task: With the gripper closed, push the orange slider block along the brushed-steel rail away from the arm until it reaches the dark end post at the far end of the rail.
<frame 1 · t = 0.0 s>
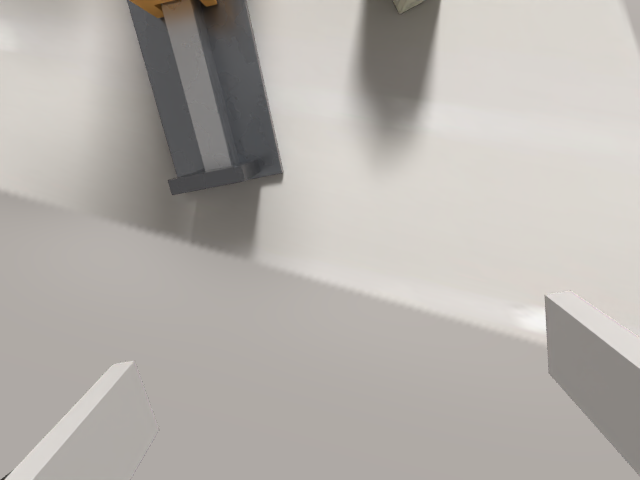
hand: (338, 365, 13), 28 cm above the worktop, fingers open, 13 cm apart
rail: (201, 51, 36), on the worktop
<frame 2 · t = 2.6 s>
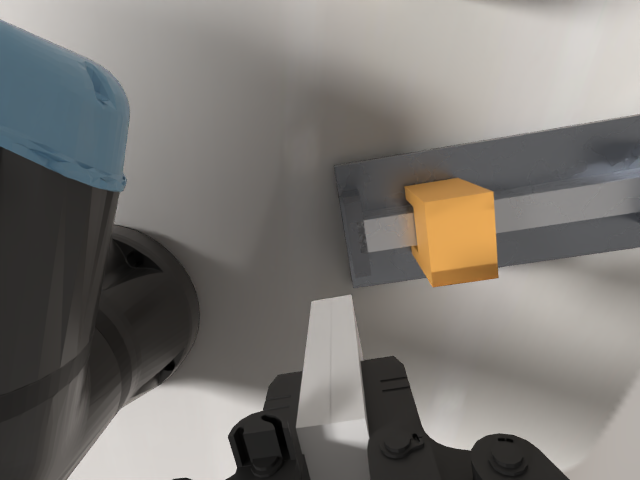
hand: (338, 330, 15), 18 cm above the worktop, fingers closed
rail: (494, 203, 32), on the worktop
orange slider block: (446, 227, 27), point 5 cm above the worktop, slide at 0.0 cm
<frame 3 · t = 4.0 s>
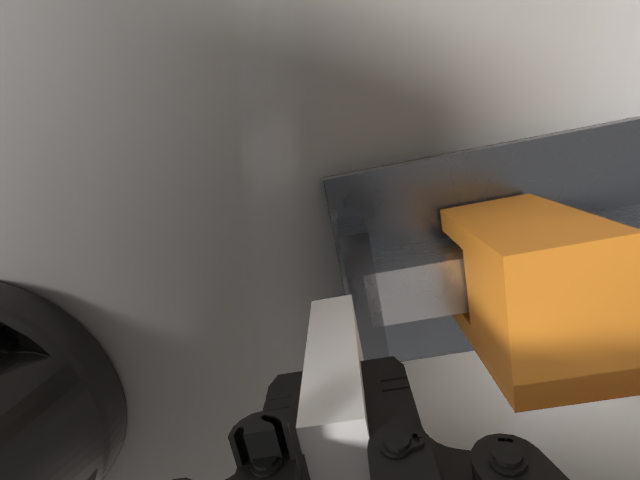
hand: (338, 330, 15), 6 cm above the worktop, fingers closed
rail: (581, 231, 20), on the worktop
orange slider block: (523, 285, 15), point 5 cm above the worktop, slide at 0.0 cm
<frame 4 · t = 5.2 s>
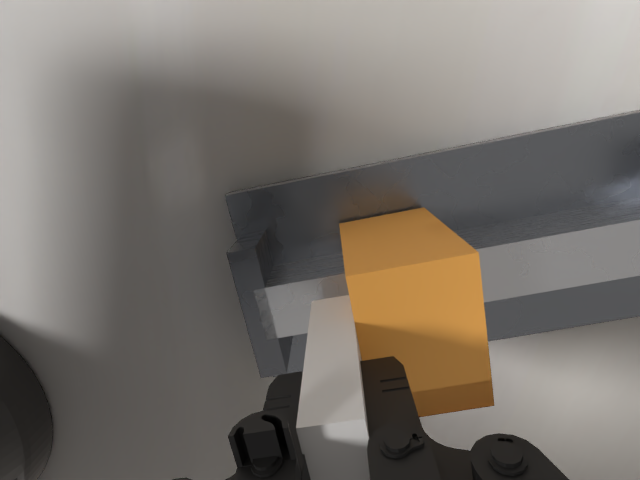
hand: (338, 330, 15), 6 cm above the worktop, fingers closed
rail: (483, 242, 20), on the worktop
orange slider block: (403, 298, 16), point 5 cm above the worktop, slide at 0.0 cm, touching gripper
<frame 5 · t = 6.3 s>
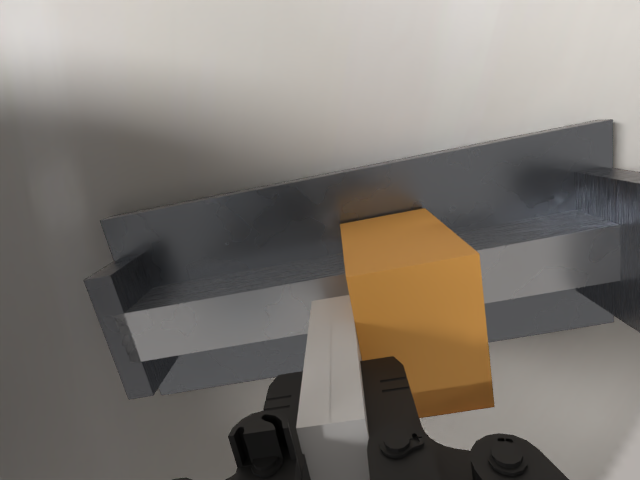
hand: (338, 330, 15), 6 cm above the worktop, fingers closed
rail: (360, 265, 21), on the worktop
orange slider block: (403, 299, 16), point 5 cm above the worktop, slide at 6.4 cm, touching gripper
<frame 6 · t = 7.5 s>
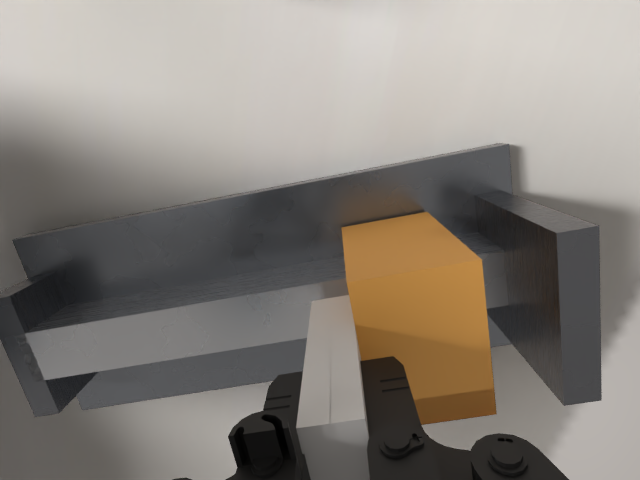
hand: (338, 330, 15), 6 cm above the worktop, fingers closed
rail: (274, 284, 21), on the worktop
orange slider block: (405, 304, 16), point 5 cm above the worktop, slide at 11.0 cm, touching gripper
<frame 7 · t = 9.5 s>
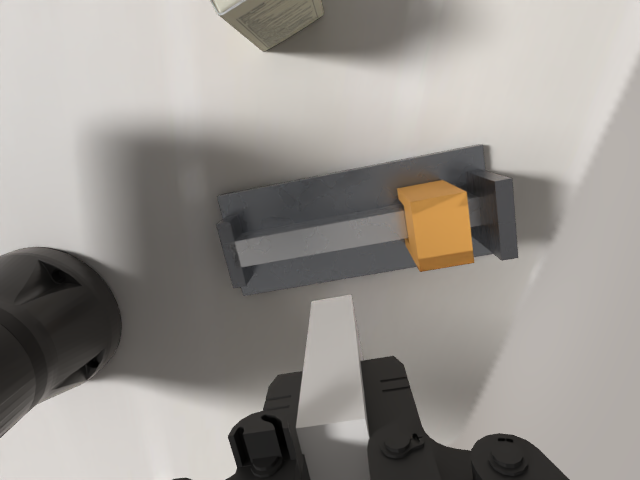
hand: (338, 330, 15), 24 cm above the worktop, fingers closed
rail: (354, 222, 38), on the worktop
skincare box: (280, 11, 34), on the worktop
orange slider block: (432, 222, 33), point 5 cm above the worktop, slide at 11.2 cm
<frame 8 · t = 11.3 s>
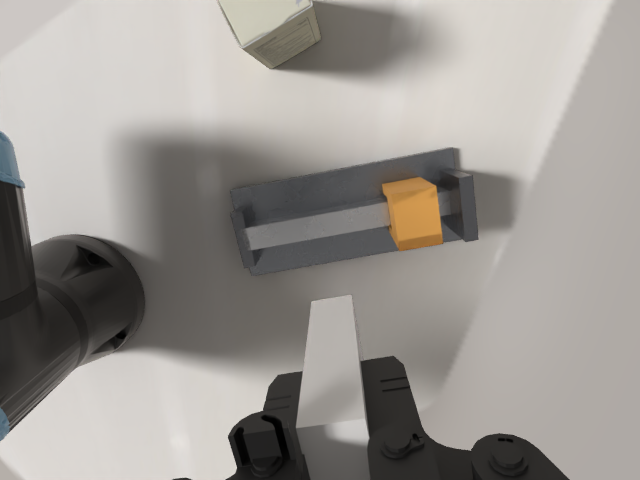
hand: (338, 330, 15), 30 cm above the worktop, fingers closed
rail: (346, 213, 45), on the worktop
skincare box: (284, 36, 40), on the worktop
orange slider block: (410, 211, 40), point 5 cm above the worktop, slide at 11.2 cm
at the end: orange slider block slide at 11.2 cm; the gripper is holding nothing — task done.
